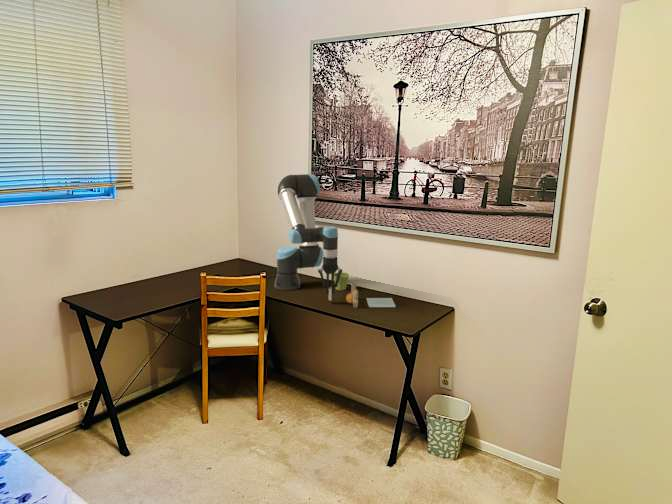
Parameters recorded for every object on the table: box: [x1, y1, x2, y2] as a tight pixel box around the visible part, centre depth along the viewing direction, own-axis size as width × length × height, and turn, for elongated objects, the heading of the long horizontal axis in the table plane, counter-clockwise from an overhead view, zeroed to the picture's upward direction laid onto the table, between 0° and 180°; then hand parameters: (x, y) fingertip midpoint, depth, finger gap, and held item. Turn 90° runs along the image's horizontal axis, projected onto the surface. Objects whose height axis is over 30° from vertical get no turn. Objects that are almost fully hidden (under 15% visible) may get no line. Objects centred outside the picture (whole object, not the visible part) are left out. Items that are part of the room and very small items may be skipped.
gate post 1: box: [350, 282, 357, 293], centre depth 269 cm, size 3×3×9 cm
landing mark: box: [365, 297, 396, 308], centre depth 264 cm, size 14×14×1 cm
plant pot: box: [334, 272, 350, 291], centre depth 286 cm, size 9×9×9 cm
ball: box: [345, 292, 353, 304], centre depth 263 cm, size 6×6×6 cm
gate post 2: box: [352, 289, 359, 309], centre depth 256 cm, size 3×3×9 cm
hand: (330, 299), depth 262 cm, fingers closed
